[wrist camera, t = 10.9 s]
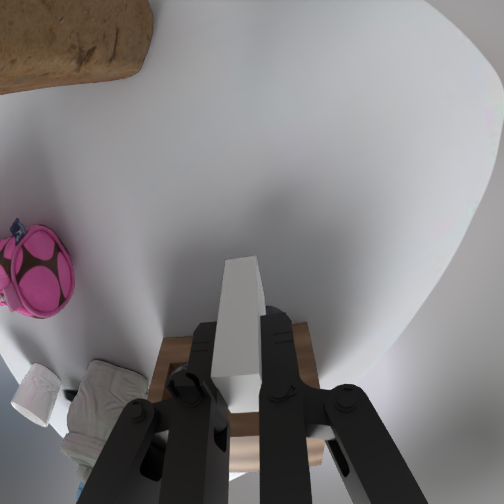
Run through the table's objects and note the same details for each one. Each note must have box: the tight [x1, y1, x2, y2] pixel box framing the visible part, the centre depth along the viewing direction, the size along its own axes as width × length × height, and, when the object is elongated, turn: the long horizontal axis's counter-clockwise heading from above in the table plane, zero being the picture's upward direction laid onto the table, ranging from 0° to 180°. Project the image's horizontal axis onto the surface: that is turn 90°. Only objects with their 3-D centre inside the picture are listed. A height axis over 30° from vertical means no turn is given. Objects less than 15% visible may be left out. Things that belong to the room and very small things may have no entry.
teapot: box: [61, 360, 148, 484], centre depth 28 cm, size 16×15×19 cm
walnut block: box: [147, 323, 325, 472], centre depth 27 cm, size 14×16×12 cm
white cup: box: [11, 363, 61, 427], centre depth 33 cm, size 8×8×10 cm
